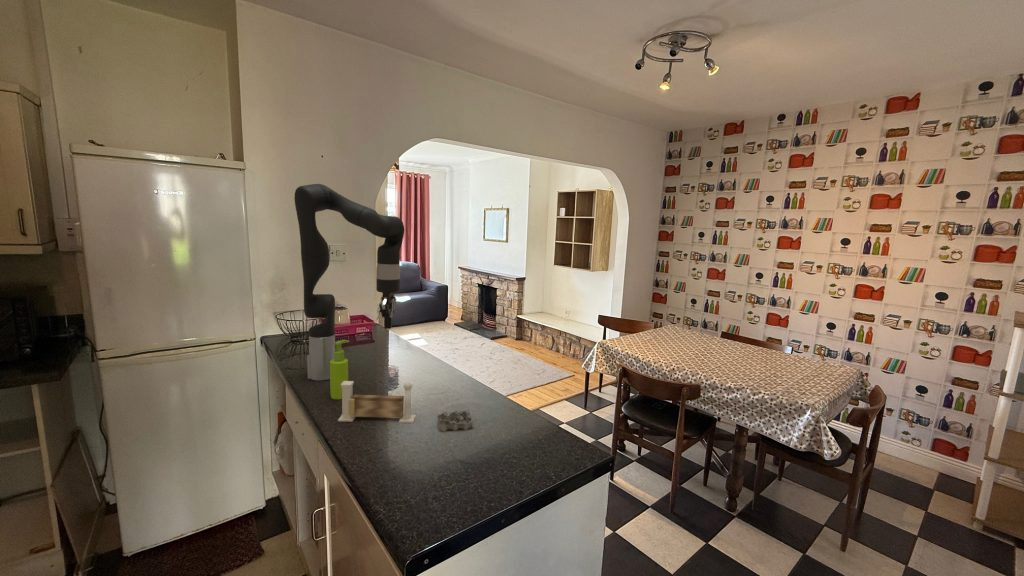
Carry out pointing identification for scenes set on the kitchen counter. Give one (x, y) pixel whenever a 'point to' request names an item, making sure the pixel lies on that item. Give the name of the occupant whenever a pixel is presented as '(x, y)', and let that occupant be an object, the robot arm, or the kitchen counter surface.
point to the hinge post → (407, 405)
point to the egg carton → (446, 418)
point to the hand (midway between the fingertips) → (388, 328)
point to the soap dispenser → (338, 371)
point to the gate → (378, 406)
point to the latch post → (347, 402)
